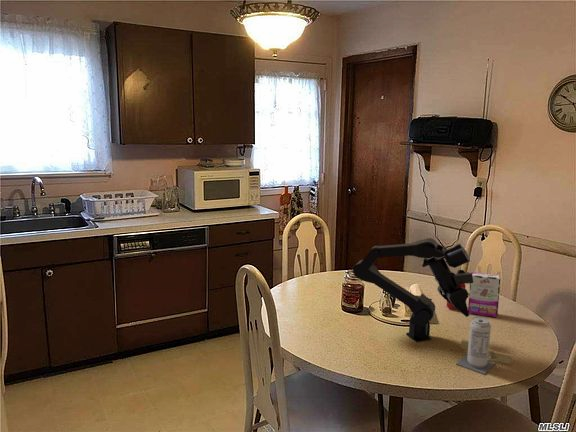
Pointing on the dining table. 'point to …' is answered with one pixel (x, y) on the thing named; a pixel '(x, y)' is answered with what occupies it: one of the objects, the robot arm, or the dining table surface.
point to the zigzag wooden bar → (491, 354)
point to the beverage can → (450, 304)
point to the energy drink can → (479, 342)
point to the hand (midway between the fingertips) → (463, 313)
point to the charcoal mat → (484, 370)
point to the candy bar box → (484, 294)
